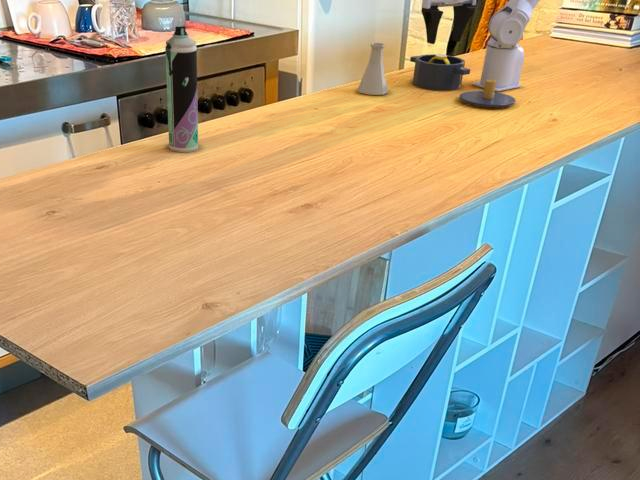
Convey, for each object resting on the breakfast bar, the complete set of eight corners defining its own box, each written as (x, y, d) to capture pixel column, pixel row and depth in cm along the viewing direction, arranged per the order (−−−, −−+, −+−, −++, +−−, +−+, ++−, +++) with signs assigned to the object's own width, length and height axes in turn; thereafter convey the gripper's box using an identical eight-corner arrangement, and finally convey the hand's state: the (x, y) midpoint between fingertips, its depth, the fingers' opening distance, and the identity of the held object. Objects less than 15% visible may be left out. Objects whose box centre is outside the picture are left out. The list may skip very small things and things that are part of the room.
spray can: (187, 154, 150) (183, 30, 137) (163, 148, 152) (158, 26, 139) (203, 147, 154) (202, 25, 141) (180, 141, 156) (177, 21, 143)
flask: (386, 97, 187) (392, 48, 181) (355, 94, 188) (360, 45, 182) (389, 89, 193) (394, 42, 186) (358, 87, 194) (363, 39, 187)
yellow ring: (423, 81, 198) (427, 53, 195) (429, 79, 200) (433, 52, 196) (444, 85, 195) (448, 57, 192) (450, 83, 197) (454, 56, 193)
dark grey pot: (426, 75, 206) (430, 50, 202) (479, 89, 196) (483, 63, 192) (394, 80, 200) (397, 55, 197) (447, 95, 190) (451, 69, 187)
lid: (480, 93, 193) (484, 71, 190) (525, 104, 186) (530, 82, 183) (447, 100, 186) (451, 78, 183) (492, 113, 179) (497, 90, 176)
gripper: (439, -23, 178) (429, 47, 187) (490, -26, 184) (478, 43, 192) (420, -27, 183) (411, 41, 191) (469, -30, 188) (458, 37, 197)
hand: (443, 42), depth 192 cm, fingers open, 7 cm apart
